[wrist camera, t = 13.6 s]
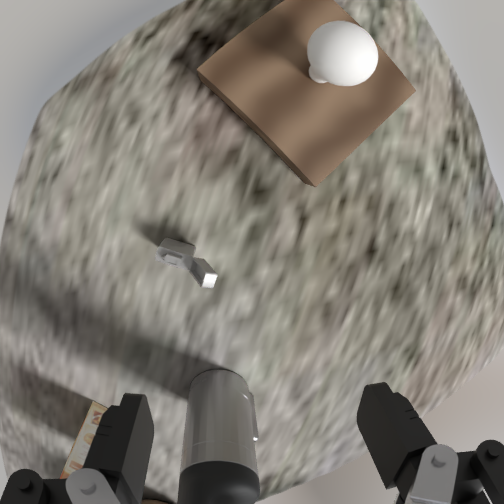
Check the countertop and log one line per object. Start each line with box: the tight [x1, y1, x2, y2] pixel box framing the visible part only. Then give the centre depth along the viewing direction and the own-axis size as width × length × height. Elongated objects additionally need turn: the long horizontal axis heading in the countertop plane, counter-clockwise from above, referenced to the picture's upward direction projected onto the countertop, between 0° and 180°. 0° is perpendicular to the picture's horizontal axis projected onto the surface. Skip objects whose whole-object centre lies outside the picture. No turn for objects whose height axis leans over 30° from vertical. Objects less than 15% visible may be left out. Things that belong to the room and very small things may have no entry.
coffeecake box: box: [60, 401, 108, 479], centre depth 39 cm, size 15×7×20 cm, turn 148°
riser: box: [197, 0, 416, 187], centre depth 32 cm, size 18×18×5 cm
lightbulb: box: [307, 21, 378, 86], centre depth 25 cm, size 6×6×11 cm
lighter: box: [155, 237, 217, 288], centre depth 36 cm, size 7×2×8 cm, turn 71°
